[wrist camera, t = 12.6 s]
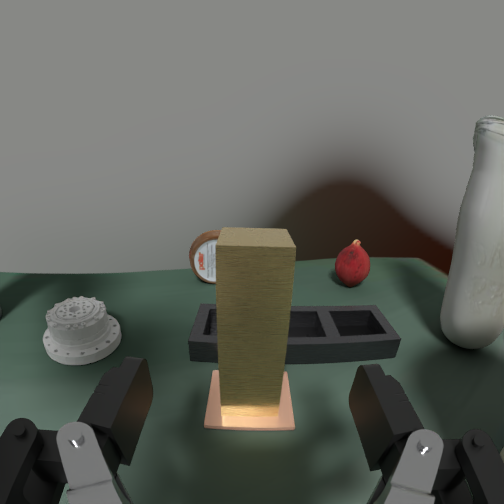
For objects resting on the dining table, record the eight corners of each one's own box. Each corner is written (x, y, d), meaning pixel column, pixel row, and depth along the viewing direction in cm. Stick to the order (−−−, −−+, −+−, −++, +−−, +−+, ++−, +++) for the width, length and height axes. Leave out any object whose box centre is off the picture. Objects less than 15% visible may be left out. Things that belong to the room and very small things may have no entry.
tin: (278, 275, 51) (280, 228, 49) (283, 282, 48) (286, 232, 46) (190, 279, 48) (188, 229, 46) (190, 287, 45) (188, 234, 43)
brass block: (277, 416, 21) (295, 247, 16) (221, 415, 21) (215, 245, 16) (274, 380, 25) (286, 229, 21) (224, 379, 25) (222, 227, 21)
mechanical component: (129, 358, 28) (115, 315, 36) (122, 323, 26) (110, 285, 34) (45, 373, 22) (48, 327, 30) (31, 338, 21) (40, 297, 29)
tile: (294, 429, 20) (294, 426, 20) (204, 427, 20) (203, 424, 19) (286, 374, 26) (286, 371, 26) (213, 373, 26) (213, 370, 26)
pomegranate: (357, 297, 43) (365, 247, 40) (326, 287, 46) (331, 239, 44) (371, 286, 47) (378, 240, 44) (341, 277, 51) (347, 233, 48)
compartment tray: (371, 322, 36) (375, 305, 35) (395, 357, 28) (401, 338, 27) (201, 321, 35) (200, 303, 35) (190, 360, 28) (188, 341, 27)
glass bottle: (481, 326, 32) (515, 132, 23) (501, 365, 23) (550, 125, 14) (426, 318, 36) (454, 116, 27) (436, 360, 27) (479, 99, 18)
